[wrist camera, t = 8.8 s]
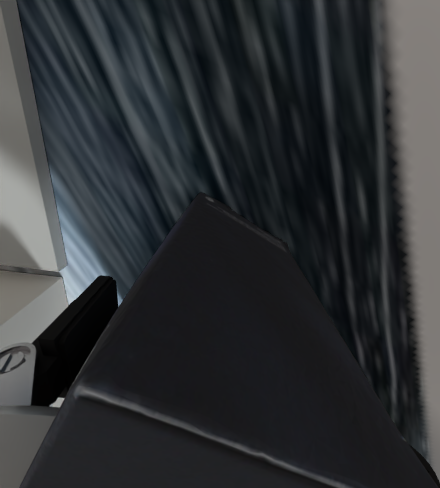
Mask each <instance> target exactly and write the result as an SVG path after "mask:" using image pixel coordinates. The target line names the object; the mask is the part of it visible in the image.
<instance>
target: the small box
mask: <svg viewBox="0 0 440 488" xmlns="http://www.w3.org/2000/svg"><path fill="white" fill-rule="evenodd" d="M19 488H438V486H437V485H436V483H435V482H434V480H433V479H432V477H431V476H430V475H429V473H428V472H427V470H426V469H425V467H424V466H423V465H422V463H421V462H420V460H419V459H418V457H417V456H416V454H415V453H414V451H413V450H412V448H411V447H410V446H409V444H408V443H407V442H406V440H405V439H404V438H403V436H402V435H401V433H400V432H399V430H398V429H397V427H396V426H395V424H394V422H393V421H392V419H391V417H390V416H389V414H388V413H387V411H386V409H385V407H384V406H383V404H382V402H381V401H380V399H379V397H378V396H377V394H376V393H375V391H374V390H373V388H372V386H371V385H370V383H369V382H368V380H367V378H366V376H365V374H364V373H363V371H362V370H361V368H360V366H359V364H358V363H357V361H356V360H355V358H354V356H353V355H352V353H351V351H350V350H349V348H348V346H347V344H346V343H345V341H344V340H343V338H342V337H341V335H340V333H339V332H338V330H337V328H336V327H335V325H334V324H333V322H332V320H331V319H330V317H329V315H328V314H327V312H326V311H325V309H324V307H323V306H322V304H321V303H320V301H319V299H318V297H317V295H316V294H315V292H314V291H313V289H312V287H311V285H310V284H309V282H308V281H307V279H306V277H305V276H304V274H303V273H302V271H301V270H300V268H299V266H298V265H297V263H296V262H295V260H294V258H293V256H292V255H291V253H290V251H289V248H288V245H287V243H286V242H283V241H282V240H281V239H279V238H277V237H274V236H272V235H270V234H269V232H267V231H264V230H263V229H261V228H259V227H258V226H256V225H255V224H253V223H251V222H250V221H248V220H246V219H245V218H244V217H243V216H241V215H239V214H237V213H236V212H234V211H232V210H231V208H230V207H229V206H227V205H225V204H223V203H221V202H220V201H218V200H216V199H214V198H211V197H209V196H208V195H206V194H205V193H202V192H201V193H199V194H198V195H197V196H196V198H195V199H194V200H193V201H192V203H191V204H190V205H189V207H188V208H187V209H186V210H185V212H184V213H183V214H182V216H181V217H180V218H179V220H178V221H177V223H176V224H175V225H174V227H173V228H172V229H171V231H170V232H169V234H168V235H167V237H166V238H165V240H164V241H163V242H162V244H161V245H160V247H159V248H158V250H157V251H156V253H155V254H154V255H153V257H152V258H151V260H150V261H149V263H148V264H147V266H146V267H145V269H144V270H143V271H142V273H141V274H140V276H139V277H138V279H137V280H136V282H135V283H134V285H133V286H132V288H131V289H130V291H129V292H128V294H127V295H126V297H125V298H124V300H123V301H122V303H121V304H120V306H119V307H118V309H117V310H116V312H115V313H114V315H113V317H112V318H111V320H110V321H109V323H108V325H107V326H106V328H105V329H104V331H103V333H102V334H101V336H100V337H99V339H98V341H97V343H96V344H95V346H94V348H93V349H92V351H91V353H90V355H89V356H88V358H87V360H86V361H85V363H84V365H83V366H82V368H81V370H80V372H79V373H78V375H77V377H76V378H75V380H74V382H73V384H72V385H71V387H70V389H69V391H68V393H67V395H66V397H65V399H64V401H63V403H62V404H61V406H60V409H59V411H58V412H57V414H56V416H55V418H54V420H53V422H52V424H51V426H50V428H49V430H48V432H47V433H46V435H45V437H44V439H43V441H42V443H41V445H40V447H39V449H38V451H37V453H36V455H35V457H34V459H33V461H32V463H31V465H30V467H29V469H28V471H27V473H26V475H25V477H24V479H23V481H22V483H21V484H20V487H19Z"/></svg>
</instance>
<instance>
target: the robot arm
mask: <svg viewBox="0 0 440 488" xmlns="http://www.w3.org/2000/svg"><path fill="white" fill-rule="evenodd" d="M117 309H118V298H117V287H116V280H113V278H112V277H110V276H102V275H101V276H99V277H97V278H96V280H95V281H94V282H93V283H92V284H91V285H90V286H89V287H88V288H87V289H86V290H85V291H84V292H83V293H82V294H81V295H80V296H79V297H78V298H77V299H76V300H74V301H73V302H72V303H71V304H70V305H69V306H68V307H67V308H66V309H65V310H64V311H63V312H62V313H61V314H60V315H59V316H58V317H57V318H56V319H55V320H54V321H53V322H52V323H51V324H50V325H49V326H48V327H47V328H46V329H45V330H44V331H43V332H42V333H41V334H40V335H39V336H38V337H37V338H36V339H35V340H34V341H33V342H32V343H16V344H12V345H10V346H7V347H4V348H3V349H1V350H0V488H19V487H20V484H21V483H22V481H23V479H24V477H25V475H26V473H27V471H28V469H29V467H30V465H31V463H32V461H33V459H34V457H35V455H36V453H37V451H38V449H39V447H40V445H41V443H42V441H43V439H44V437H45V435H46V433H47V432H48V430H49V428H50V426H51V424H52V422H53V420H54V418H55V416H56V414H57V412H58V411H59V409H60V407H52V406H53V403H54V402H56V400H57V399H58V398H65V397H66V395H67V393H68V391H69V389H70V387H71V385H72V384H73V382H74V380H75V378H76V377H77V375H78V373H79V372H80V370H81V368H82V366H83V365H84V363H85V361H86V360H87V358H88V356H89V355H90V353H91V351H92V349H93V348H94V346H95V344H96V343H97V341H98V339H99V337H100V336H101V334H102V333H103V331H104V329H105V328H106V326H107V325H108V323H109V321H110V320H111V318H112V317H113V315H114V313H115V312H116V310H117ZM409 446H410V445H409ZM410 447H411V448H412V450H413V451H414V453H415V454H416V456H417V457H418V459H419V460H420V462H421V463H422V465H423V466H424V467H425V469H426V470H427V472H428V473H429V475H430V476H431V477H432V479H433V480H434V482H435V483H436V485H437V486H438V488H440V483H439V480H438V478H437V476H436V474H435V472H434V471H433V469H432V467H431V466H430V464H429V463H428V462H427V461H426V460H425V459H424V457H423V456H422V455H421V454H420V453H419V452H417V451H416V450H415V449H414V448H413V447H412V446H410Z"/></svg>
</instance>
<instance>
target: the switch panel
mask: <svg viewBox="0 0 440 488" xmlns="http://www.w3.org/2000/svg"><path fill="white" fill-rule="evenodd" d="M67 307H68V302H67V297H66V293H65V288H64V283H63V279H62V277H55V276H47V275H38V274H29V273H21V272H12V271H4V270H0V350H1V349H3V348H4V347H7V346H10V345H12V344H16V343H32V342H33V341H34V340H35V339H36V338H37V337H38V336H39V335H40V334H41V333H42V332H43V331H44V330H45V329H46V328H47V327H48V326H49V325H50V324H51V323H52V322H53V321H54V320H55V319H56V318H57V317H58V316H59V315H60V314H61V313H62V312H63V311H64V310H65V309H66V308H67ZM64 399H65V398H58V399H57V400H56V402H54V403H53V406H52V407H60V406H61V404H62V403H63V401H64Z"/></svg>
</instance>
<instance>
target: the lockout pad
mask: <svg viewBox="0 0 440 488" xmlns="http://www.w3.org/2000/svg"><path fill="white" fill-rule="evenodd" d="M0 265H5V266H13V267H22V268H30V269H39V270H47V271H56V272H59V271H60V270H62V269H63V268H64V267H66V266H67V260H66V255H65V250H64V245H63V239H62V234H61V229H60V224H59V219H58V214H57V209H56V203H55V198H54V193H53V188H52V183H51V178H50V172H49V167H48V162H47V157H46V152H45V147H44V141H43V136H42V131H41V126H40V121H39V116H38V110H37V105H36V100H35V95H34V90H33V85H32V80H31V74H30V69H29V64H28V59H27V54H26V49H25V43H24V38H23V33H22V28H21V23H20V18H19V12H18V7H17V2H16V0H0Z"/></svg>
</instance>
